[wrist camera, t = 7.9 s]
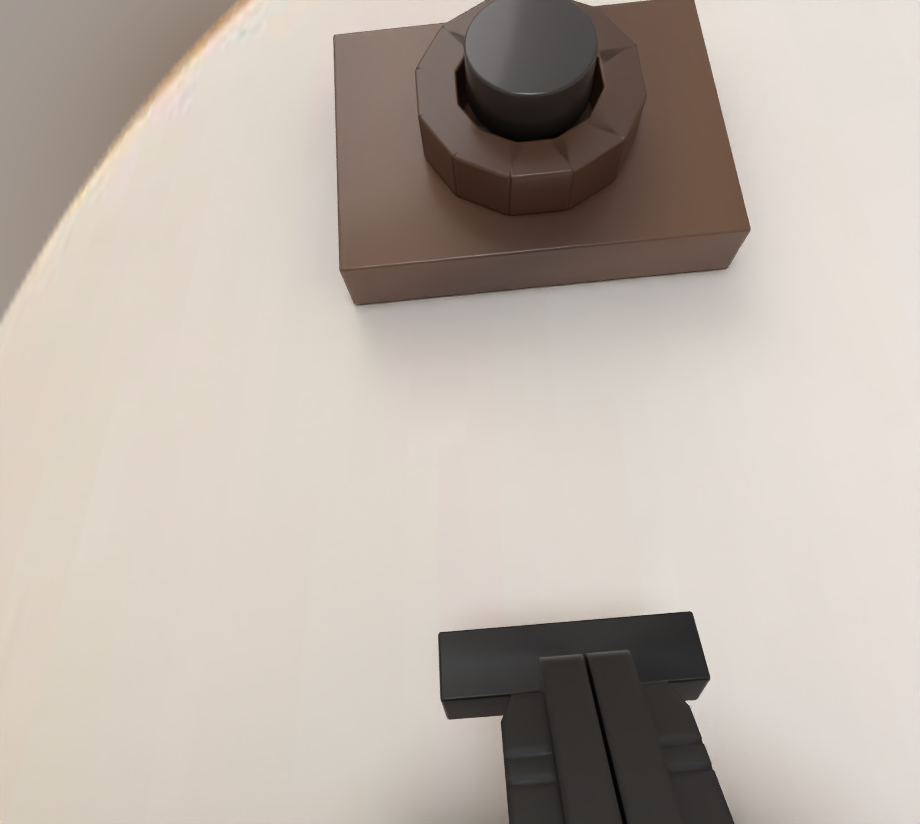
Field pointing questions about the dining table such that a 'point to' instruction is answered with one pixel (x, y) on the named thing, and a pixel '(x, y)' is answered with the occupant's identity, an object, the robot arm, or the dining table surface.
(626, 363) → the dining table surface
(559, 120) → the desk button
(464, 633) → the lever handle
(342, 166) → the button block
